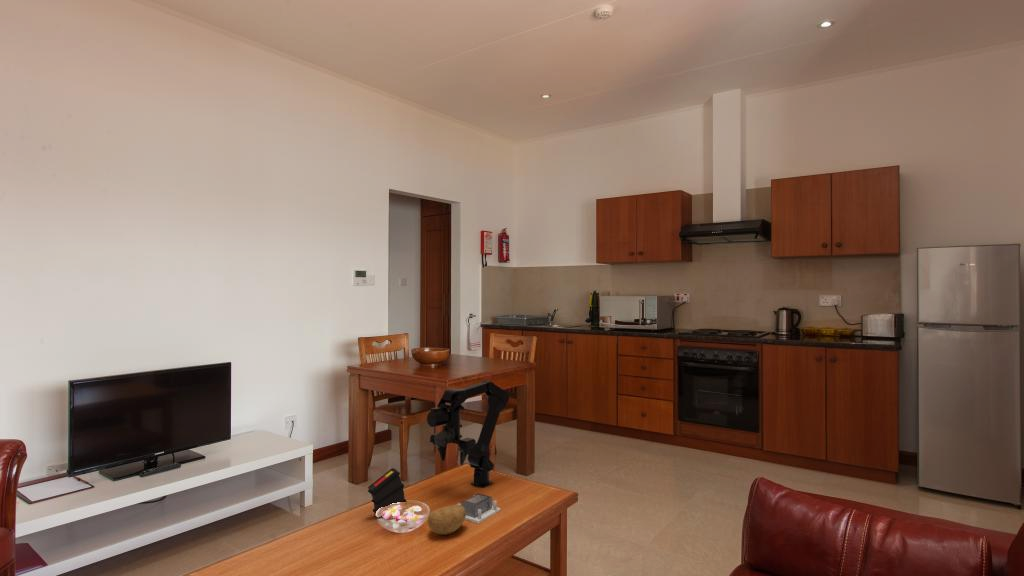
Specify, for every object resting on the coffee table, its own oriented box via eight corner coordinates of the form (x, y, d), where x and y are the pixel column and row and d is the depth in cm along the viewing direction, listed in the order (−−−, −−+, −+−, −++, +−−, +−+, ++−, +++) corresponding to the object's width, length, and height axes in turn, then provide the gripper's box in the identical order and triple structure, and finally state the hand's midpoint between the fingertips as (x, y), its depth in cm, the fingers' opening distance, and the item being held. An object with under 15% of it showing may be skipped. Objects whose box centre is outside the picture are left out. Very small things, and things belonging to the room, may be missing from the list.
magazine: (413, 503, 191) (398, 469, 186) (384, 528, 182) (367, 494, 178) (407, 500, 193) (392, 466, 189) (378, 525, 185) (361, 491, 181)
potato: (473, 529, 173) (474, 505, 173) (439, 544, 163) (439, 518, 163) (455, 520, 179) (455, 497, 180) (420, 534, 169) (421, 509, 170)
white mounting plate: (475, 503, 194) (475, 493, 194) (500, 510, 188) (500, 499, 188) (453, 515, 183) (453, 504, 183) (478, 523, 177) (478, 512, 177)
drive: (478, 504, 192) (478, 492, 192) (492, 508, 188) (492, 496, 188) (461, 513, 183) (461, 501, 183) (474, 517, 180) (475, 505, 180)
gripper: (420, 423, 202) (420, 464, 202) (458, 430, 192) (458, 473, 192) (439, 417, 212) (439, 456, 211) (476, 424, 201) (476, 465, 201)
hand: (452, 462), depth 204 cm, fingers open, 9 cm apart
